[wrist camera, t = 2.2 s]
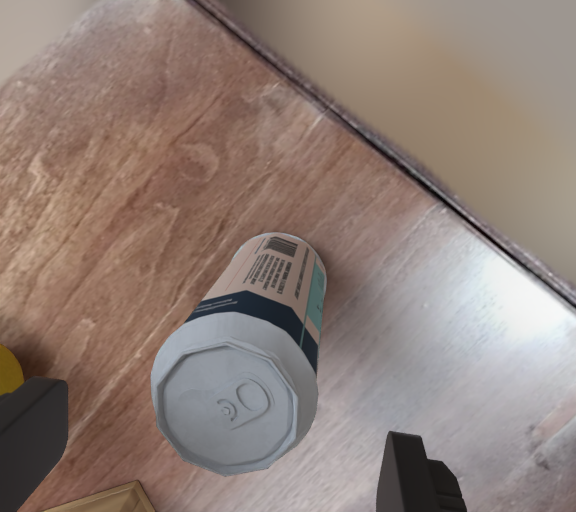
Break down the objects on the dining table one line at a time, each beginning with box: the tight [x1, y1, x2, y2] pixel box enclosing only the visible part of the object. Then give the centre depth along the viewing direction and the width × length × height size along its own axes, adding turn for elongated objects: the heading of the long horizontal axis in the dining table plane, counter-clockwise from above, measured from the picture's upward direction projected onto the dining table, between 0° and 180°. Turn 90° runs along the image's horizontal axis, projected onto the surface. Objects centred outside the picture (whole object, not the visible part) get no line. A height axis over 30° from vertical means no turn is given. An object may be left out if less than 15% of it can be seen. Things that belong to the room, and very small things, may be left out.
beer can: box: [151, 232, 327, 477], centre depth 19 cm, size 5×5×12 cm
